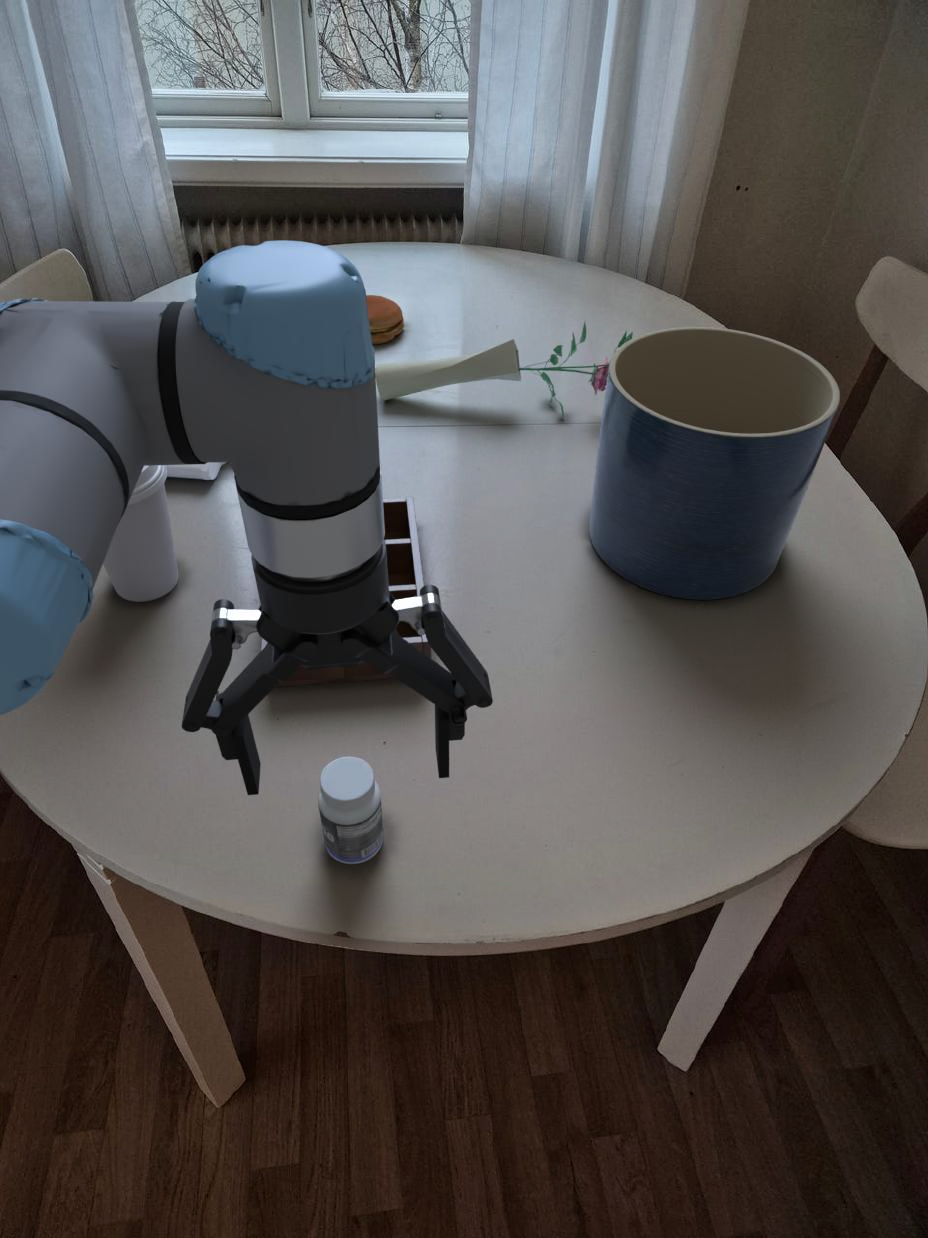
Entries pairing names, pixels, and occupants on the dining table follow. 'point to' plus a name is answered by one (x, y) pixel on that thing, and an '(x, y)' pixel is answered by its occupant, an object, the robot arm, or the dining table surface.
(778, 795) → the dining table surface
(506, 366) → the flower vase
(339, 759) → the pill bottle
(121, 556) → the coffee cup
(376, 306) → the burger
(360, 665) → the grid
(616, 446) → the planter
